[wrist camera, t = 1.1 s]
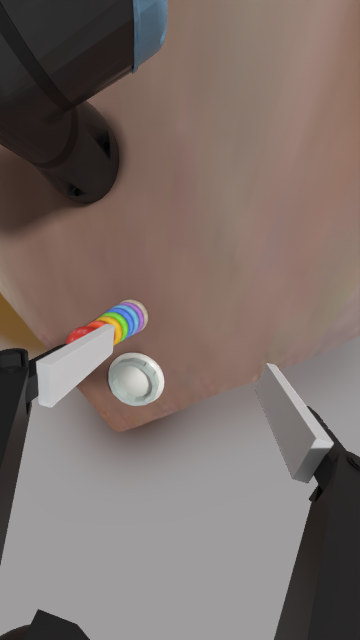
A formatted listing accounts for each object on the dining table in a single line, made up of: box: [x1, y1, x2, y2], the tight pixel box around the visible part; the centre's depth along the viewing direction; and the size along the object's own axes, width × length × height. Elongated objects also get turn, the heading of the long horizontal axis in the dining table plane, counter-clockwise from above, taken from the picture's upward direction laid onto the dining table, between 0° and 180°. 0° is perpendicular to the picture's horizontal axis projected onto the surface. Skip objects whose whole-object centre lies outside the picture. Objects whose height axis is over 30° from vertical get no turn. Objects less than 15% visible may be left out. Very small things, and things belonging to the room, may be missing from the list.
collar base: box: [108, 352, 164, 406], centre depth 44 cm, size 15×15×3 cm
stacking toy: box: [66, 300, 148, 346], centre depth 32 cm, size 8×8×19 cm
